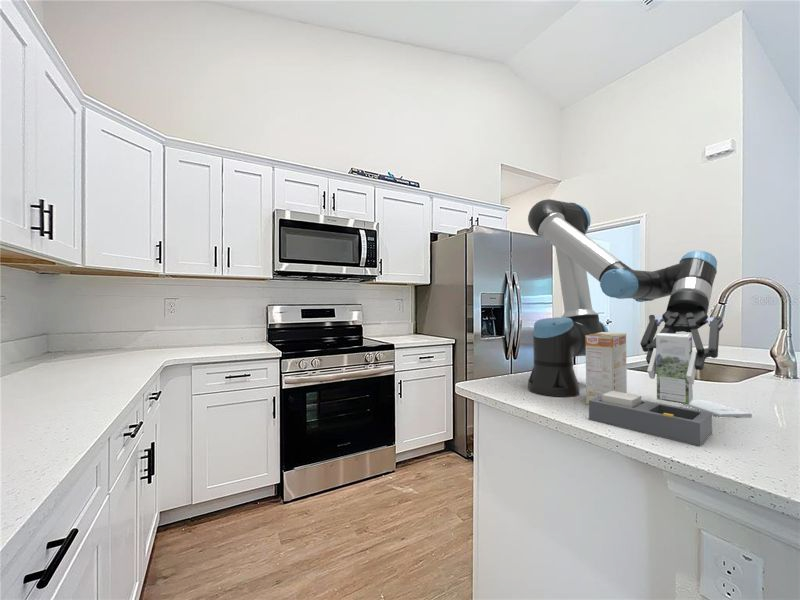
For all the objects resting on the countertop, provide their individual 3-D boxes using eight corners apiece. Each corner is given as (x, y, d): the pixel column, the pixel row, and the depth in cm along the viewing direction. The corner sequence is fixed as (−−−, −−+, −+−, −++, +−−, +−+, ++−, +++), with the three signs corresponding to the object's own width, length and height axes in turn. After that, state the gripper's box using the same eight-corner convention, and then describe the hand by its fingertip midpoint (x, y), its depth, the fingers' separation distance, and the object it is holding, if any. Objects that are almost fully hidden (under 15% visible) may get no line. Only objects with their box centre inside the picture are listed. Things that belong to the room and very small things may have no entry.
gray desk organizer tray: (588, 419, 86) (588, 394, 86) (606, 410, 93) (606, 387, 93) (700, 446, 70) (700, 415, 70) (712, 433, 76) (711, 406, 76)
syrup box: (693, 399, 77) (692, 333, 77) (689, 405, 73) (688, 335, 73) (661, 395, 81) (660, 332, 81) (656, 400, 77) (655, 333, 77)
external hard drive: (706, 405, 100) (752, 419, 87) (678, 405, 100) (720, 420, 87) (706, 399, 100) (752, 413, 87) (678, 400, 100) (720, 413, 87)
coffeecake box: (601, 394, 109) (601, 331, 109) (628, 399, 104) (627, 333, 104) (584, 404, 99) (584, 334, 99) (613, 410, 93) (613, 336, 94)
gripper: (745, 312, 80) (733, 396, 69) (646, 311, 94) (624, 380, 84) (741, 288, 76) (727, 373, 66) (639, 290, 91) (615, 360, 81)
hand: (669, 377), depth 75 cm, fingers closed on syrup box, 6 cm apart
